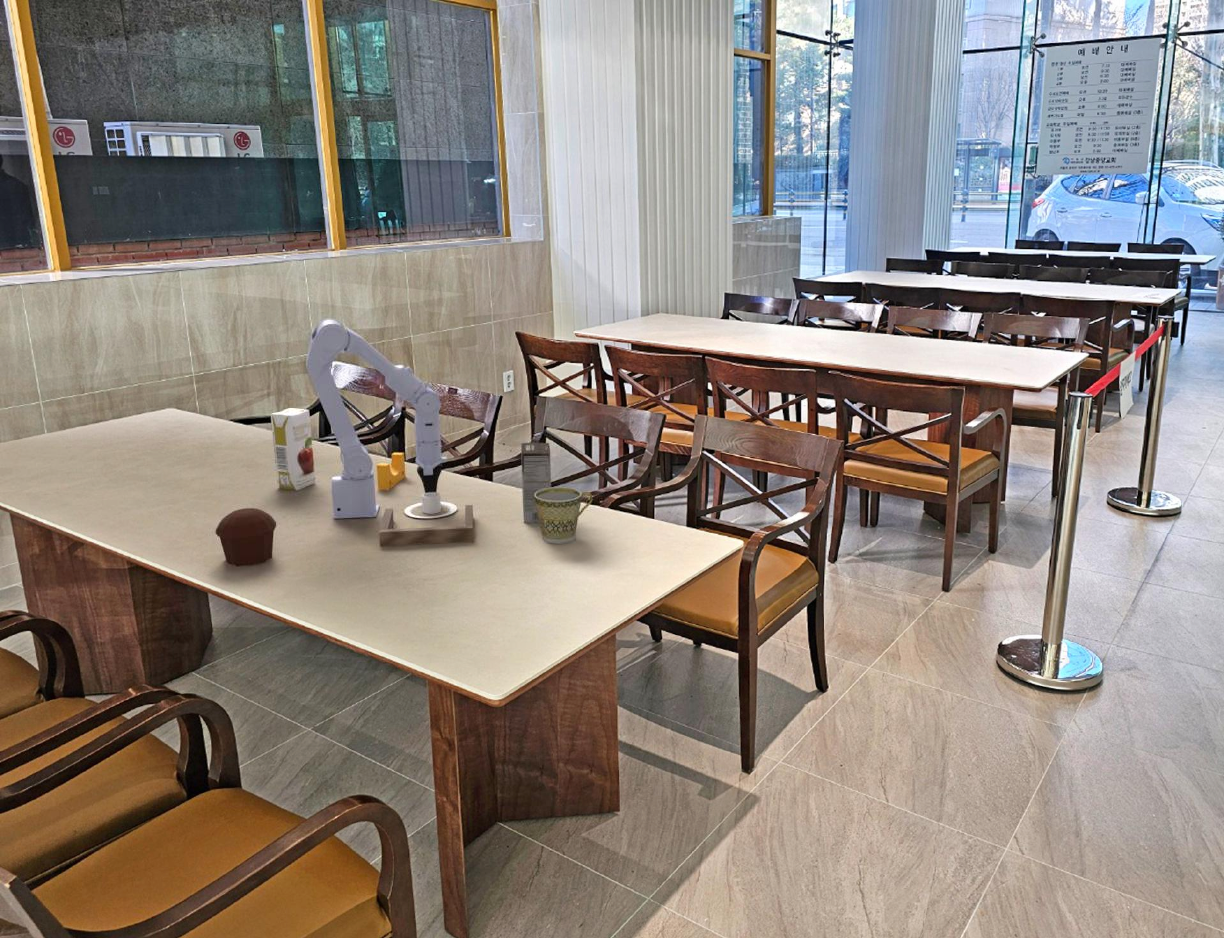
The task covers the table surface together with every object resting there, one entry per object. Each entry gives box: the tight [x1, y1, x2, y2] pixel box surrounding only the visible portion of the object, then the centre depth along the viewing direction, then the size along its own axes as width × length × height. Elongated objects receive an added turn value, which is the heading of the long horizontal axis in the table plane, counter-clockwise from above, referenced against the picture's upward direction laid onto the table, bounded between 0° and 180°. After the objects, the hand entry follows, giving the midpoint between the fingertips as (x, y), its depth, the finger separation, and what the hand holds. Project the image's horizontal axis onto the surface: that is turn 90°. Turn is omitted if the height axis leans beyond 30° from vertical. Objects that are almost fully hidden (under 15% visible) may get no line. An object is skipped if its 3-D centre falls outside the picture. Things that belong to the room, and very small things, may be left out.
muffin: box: [215, 507, 277, 567], centre depth 196 cm, size 12×11×10 cm
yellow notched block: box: [376, 452, 406, 491], centre depth 247 cm, size 12×4×6 cm, turn 171°
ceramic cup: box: [534, 486, 594, 545], centre depth 207 cm, size 13×10×10 cm
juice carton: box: [270, 407, 316, 491], centre depth 243 cm, size 8×9×19 cm
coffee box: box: [520, 442, 552, 523], centre depth 220 cm, size 9×6×16 cm
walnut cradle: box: [378, 504, 474, 547], centre depth 212 cm, size 19×16×3 cm
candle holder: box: [403, 492, 458, 519], centre depth 225 cm, size 12×12×4 cm
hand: (431, 496), depth 229 cm, fingers closed
